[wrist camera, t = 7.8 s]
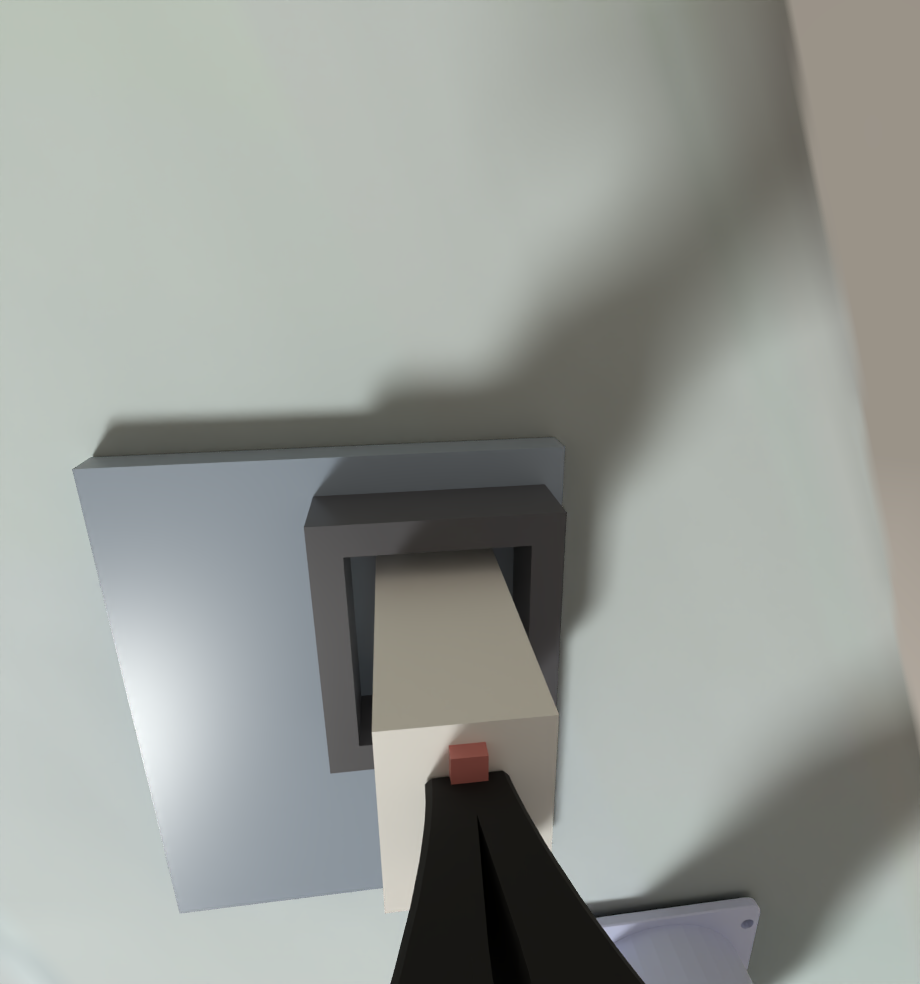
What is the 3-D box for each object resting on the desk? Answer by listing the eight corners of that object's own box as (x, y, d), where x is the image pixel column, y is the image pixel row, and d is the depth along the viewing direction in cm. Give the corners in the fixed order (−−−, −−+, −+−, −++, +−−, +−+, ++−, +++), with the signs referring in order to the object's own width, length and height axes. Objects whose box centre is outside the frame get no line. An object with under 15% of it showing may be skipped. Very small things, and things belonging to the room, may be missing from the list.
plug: (487, 664, 18) (553, 909, 11) (384, 672, 17) (385, 930, 10) (488, 539, 16) (564, 728, 9) (376, 545, 16) (371, 746, 9)
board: (536, 841, 22) (548, 884, 20) (188, 884, 20) (173, 932, 19) (554, 437, 17) (572, 453, 15) (91, 457, 15) (59, 477, 14)
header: (536, 701, 18) (554, 750, 16) (335, 720, 18) (330, 773, 16) (544, 484, 16) (566, 512, 14) (313, 496, 15) (303, 527, 13)
